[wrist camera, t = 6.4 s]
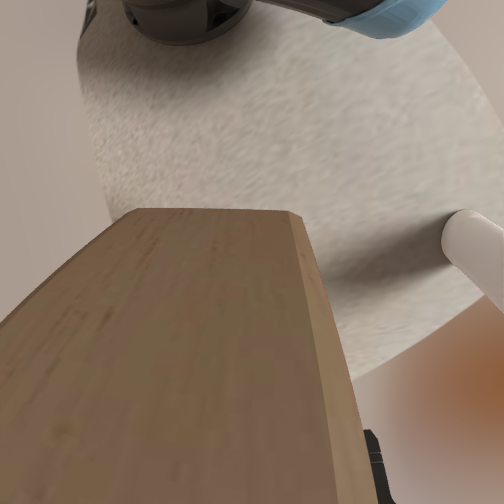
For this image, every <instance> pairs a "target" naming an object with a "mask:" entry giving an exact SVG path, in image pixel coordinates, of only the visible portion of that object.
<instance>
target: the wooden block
mask: <svg viewBox="0 0 504 504" xmlns="http://www.w3.org/2000/svg"><path fill="white" fill-rule="evenodd" d="M0 504H378V500H377V495H376V489H375V484H374V479H373V474H372V469H371V464H370V459H369V455H368V450H367V445H366V441H365V436H364V432H363V428H362V424H361V419H360V415H359V411H358V407H357V403H356V399H355V395H354V391H353V387H352V383H351V379H350V375H349V371H348V367H347V364H346V360H345V356H344V353H343V349H342V345H341V342H340V338H339V335H338V331H337V328H336V324H335V321H334V317H333V314H332V311H331V307H330V304H329V301H328V297H327V294H326V291H325V287H324V284H323V281H322V278H321V275H320V271H319V268H318V265H317V262H316V259H315V256H314V253H313V250H312V247H311V244H310V241H309V238H308V235H307V232H306V229H305V226H304V223H303V220H302V217H300V216H298V215H296V214H294V213H292V212H289V211H279V210H250V209H205V208H137V209H135V210H133V211H130V212H128V213H126V214H125V215H124V216H122V217H121V218H120V219H118V220H117V221H116V222H115V223H113V224H112V225H111V226H109V227H108V228H107V229H106V230H104V231H103V232H102V233H100V234H99V235H98V236H97V237H95V238H94V239H93V240H92V241H90V242H89V243H88V244H87V245H85V246H84V247H83V248H82V249H81V250H80V251H78V252H77V253H76V254H75V255H74V256H72V257H71V258H70V259H69V260H68V261H66V262H65V263H64V264H63V265H62V266H61V267H59V268H58V269H57V270H56V271H55V272H54V273H53V274H51V276H49V277H48V278H47V279H46V280H45V281H44V282H42V284H40V285H39V286H38V287H37V288H36V289H35V290H34V291H33V292H32V293H31V294H29V296H27V297H26V298H25V299H24V300H23V301H22V302H21V303H20V304H19V305H18V306H17V307H16V308H15V309H14V310H13V311H12V312H11V313H10V314H9V315H8V316H7V317H6V318H5V319H4V320H3V321H2V322H1V323H0Z"/></svg>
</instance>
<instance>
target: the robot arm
mask: <svg viewBox="0 0 504 504" xmlns="http://www.w3.org/2000/svg"><path fill="white" fill-rule="evenodd" d="M252 1H253V0H122V2H123V6H124V9H125V12H126V15H127V17H128V19H129V21H130V22H131V24H132V25H133V26H134V27H135V28H136V29H137V30H138V31H139V32H141V33H142V34H144V35H145V36H147V37H148V38H150V39H152V40H154V41H156V42H159V43H162V44H167V45H175V46H184V45H193V44H198V43H202V42H205V41H208V40H211V39H213V38H216V37H218V36H220V35H222V34H223V33H225V32H227V31H228V30H229V29H231V28H232V27H233V26H235V25H236V24H237V23H238V22H239V21H240V20H241V19H242V18H243V17H244V15H245V14H246V13H247V11H248V10H249V8H250V6H251V4H252ZM256 1H260V2H264V3H269V4H272V5H276V6H280V7H284V8H287V9H291V10H294V11H298V12H301V13H304V14H307V15H310V16H313V17H316V18H319V19H322V21H323V22H324V23H326V24H328V25H331V26H341V27H344V28H347V29H350V30H353V31H355V32H358V33H361V34H363V35H366V36H368V37H371V38H376V39H385V38H386V39H387V38H397V37H400V36H402V35H405V34H407V33H409V32H411V31H413V30H414V29H416V28H418V27H419V26H420V25H422V24H423V23H424V22H426V21H427V20H428V19H429V18H430V17H432V16H433V14H435V13H436V12H437V11H438V10H439V9H440V8H441V7H442V6H443V4H444V3H445V2H446V1H447V0H256ZM363 432H364V436H365V441H366V445H367V450H368V455H369V459H370V464H371V469H372V474H373V479H374V484H375V489H376V495H377V500H378V504H396V503H395V502H394V501H393V499H392V497H391V494H390V490H389V485H388V480H387V476H386V472H385V467H384V464H383V459H382V455H381V454H380V452H381V450H380V446H379V443H378V439H377V438H376V437H375V435H374V434H373V433H372V431H371V430H363Z"/></svg>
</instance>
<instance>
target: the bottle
mask: <svg viewBox="0 0 504 504" xmlns="http://www.w3.org/2000/svg"><path fill="white" fill-rule="evenodd" d="M441 246H442V251H443V252H444V254H445V256H446V257H447V258H448V259H449V260H450V262H451V263H452V264H453V265H455V266H456V267H457V268H459V269H460V270H461V271H462V272H463V273H464V274H465V275H466V276H467V277H468V278H469V279H470V280H471V281H472V282H473V283H474V284H475V285H476V286H477V287H478V288H479V289H480V290H481V291H482V292H483V293H484V294H485V295H486V296H487V297H488V298H489V299H490V300H491V301H492V302H493V303H494V304H495V305H496V306H497V307H498V308H499V309H500V310H501V311H502V312H503V313H504V229H502V228H501V227H499V226H498V225H496V224H494V223H493V222H491V221H489V220H488V219H486V218H485V217H484V216H482V215H480V214H478V213H475V212H474V211H471V210H466V209H465V210H461V211H458V212H457V213H455V214H454V215H452V216H451V217H450V219H449V220H448V221H447V223H446V224H445V227H444V229H443V232H442V237H441Z"/></svg>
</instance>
